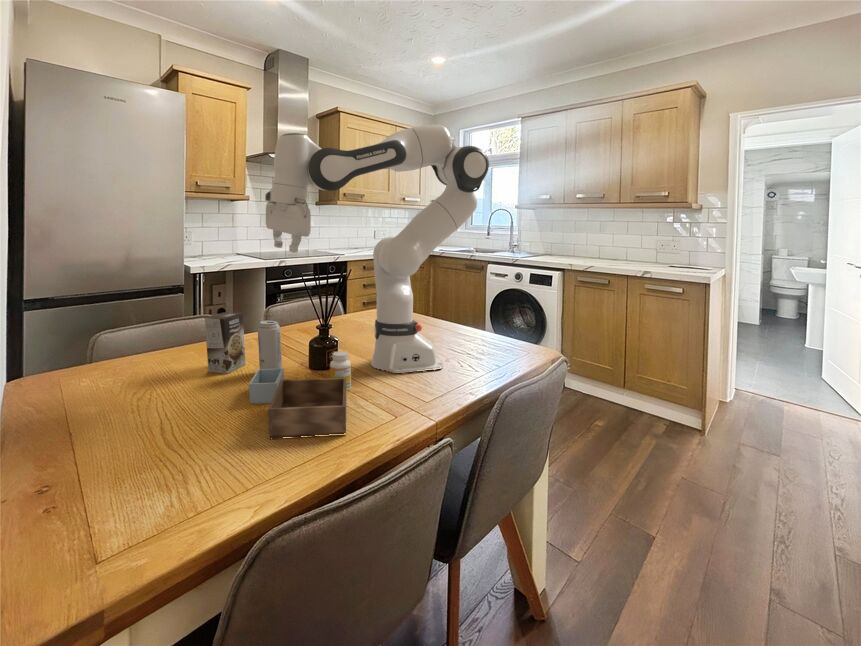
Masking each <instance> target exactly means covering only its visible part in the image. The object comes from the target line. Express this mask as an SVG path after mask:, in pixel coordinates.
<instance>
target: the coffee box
mask: <svg viewBox="0 0 861 646" xmlns="http://www.w3.org/2000/svg"><path fill="white" fill-rule="evenodd" d="M204 326H205V341H206V342H205V343H206V356H207V357H206V358H207V370H208V372H209V373H214V374H215V373H217V374H223V373H224V374H225V375H228V374H230V373H232V372H234V371H236V370H238V369H240V368H242V367H245V366H246V351H245V350H246V349H245V348H246V347H245V332H244V314H243V312H225V311H224V312H221V313H220V312H219V313H216V314H213V315H210V316H206V317H204Z"/></svg>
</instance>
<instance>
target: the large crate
mask: <svg viewBox="0 0 861 646" xmlns="http://www.w3.org/2000/svg"><path fill="white" fill-rule="evenodd" d="M267 416H268V417H267V418H268V434H269V435H268V436H269V438H270V439H269V438H268V439H269V440H272V439H271V438H283V437H301V436H315V435H329V434H344V433H346V434H347V390H346V378H330V377H329V378H303V379H302V378H299V379H295V378H294V379H284V380H280V383H279V385H278V387H277V390H276V392H275V394H274V397H273V399H272V401H271V403H269V406H268V408H267Z"/></svg>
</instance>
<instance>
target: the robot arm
mask: <svg viewBox="0 0 861 646" xmlns="http://www.w3.org/2000/svg"><path fill="white" fill-rule="evenodd" d="M429 166H431V168H432V169H433V171H434V174H435V176H436V178H437V180H438V181H439V182H440V183H441V184H443V185H444V186H445V188H444V190H443V192H441V194H440V195H439V196H438V197H437V198H435V199H434V200H432V201H431V202H430V203H429V204H428V205H427V206H426V207H424V208H423V209H422V210H420V211H419V212H418V213H417V214H416V215H415V216H413V217H412V219H411V220H410V221H409V223H408V224H406V226H405V227H404V228H403V229H402V230H401V231H400V232H399V233H398V234H397V235H395V236H394V237H393V236H389V237H384V238H382V239H381V240H379V241H378V242H377V244H376V245H375V246H374V248H373V252H372V253H373V255H372V257H373V270H374V281H375V282H374V283H375V289H376V291H375V292H376V319H375V322H374V338H375V342H374V349H373V356H372V360H371V362H370V365H371V367H373V368H374V369H376V368H377V370H379V369H381V370H380V371H384V370H387V371H386V372H388V371H390V372H389V373H391V372H393V373H392V374H394V373H402V372H410V371H417V370H425V369H433V368H440V367H442V366H443V367H444V361H443V359H442V358H441V357H440V356H438V355H437V351H436V348H435V345H434V344H433V342H431V341H430V340H429V339H428V338H426V336H424V335H422V334H421V333H420V332H421V331H422V330H423V326H422V325H421V323H419V322H418V321H416V320H415V319H413V316H414V314H413V313H414V312H413V311H414V310H413V308H414V293H413V290H412V285H411V284H412V283H411V276H413V275H414V274H415V273H417V272H418V270H419V269H420V266H422V264H423V263H424V262H425V261H426V260H427V259H428V257H429V256H430V255H431V254H432V253H433V252H434V251H435V250H436V249H437V247H438V246H440V245H441V244H442V243H443V242H444V241H446V240H447V238H449V237H450V236H451V235H452V234H454V232H457V230H458V229H459V228H460V227H462V226H463V225H464V224H465V223H466V222H467V220H469V218H470V217H471V216H472V214H474V212H475V210H476V209H477V208H478V207H477V206H478V199H477V197H476V195H475V193H474V192H477V191H479V189H480V188H481V185H482V184H483V183H482V182H483V181H484V180H485V178H486V176H487V174H488V173H489V168H490V162H489V158H488V155H487V153H486V152H485V151H483V149H482V148H479V147H477V146H474V145H465V146H456V145H455V144H454V143H453V139H452V136H451V133H450V131H449V129H448V128H446V127H445V126H444V125H442V124H424V125H417V126H413V127H408V128H404V129H401V130H399V131H397V132H394V133H392V134H390V135H388V136H387V137H386V138H385V139H383V140H381V142H378V143H376V144H373V145H368V146H363V147H358V148H355V149H351V150H344V149H339V148H333V147H324V148H321V147H320V146H319V145H317V144H316V143H315V142H314V141H313V140H312V139H310V137H309V136H308V135H307V134H304V133H298V132H294V133H293V132H292V133H291V132H290V133H289V132H288V133H284V134H282V135H280V137H278V139H277V140H276V145H275V151H274V158H273V168H274V169H273V170H274V177H273V180H272V185H271V186H272V188H270V189H269V191H267V192H266V193H265V194H264V201H265V202H266V204H265V205H266V206H265V225H266V228H267V229H268V230H272V237H273V241H274V242H273V243H274V244H273V246H274V247H275V248H279V249H282V248H283V243H284V242H283V241H282V235H283V233H286V234H289V235H291V243H290V244H289V248H288V249H289V252H291V253H298V252H299V247H300V244H301V241H302V237H307V238H308V237H310V234H311V228H312V225H311V224H312V223H311V222H312V221H311V220H312V219H311V218H312V215H311V209H310V208H309V205H308V202H307V197H308V187H309V186H312V187H315V188H316V189H318V190H321V191H329V192H333V191H339V190H340V189H341V188H343V187H344V186H346V185H347V184H348V183H349V182H350V181H351V180H353V179H355V178H356V177H358V176H362V175H363V176H364V175H366V174H370V173H373V172H376V171H380V170H382V171H383V170H392V171H394V172H397V173H398V172H399V173H400V172H410V171H411V172H412V171H415V170H419V169H422V168H425V167H429ZM439 364H440V365H439ZM402 374H403V373H402Z"/></svg>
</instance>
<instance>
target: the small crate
mask: <svg viewBox="0 0 861 646" xmlns="http://www.w3.org/2000/svg"><path fill="white" fill-rule="evenodd" d="M284 370H285V369H284V368H282V369H260V368H258V369H256V372H255V373H254V375H253V377H252V378H251V380H250V382H249V383H248V389H249V390H248V391H249V392H248V393H249V404H250V403H252V404H253V403H255V404H271V401H272V399H273V397H274V394H275V392H276V390H277V387H278V385H279V383H280V380H285V376H284V375H285V374H284V372H285V371H284ZM253 405H254V404H253Z"/></svg>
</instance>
